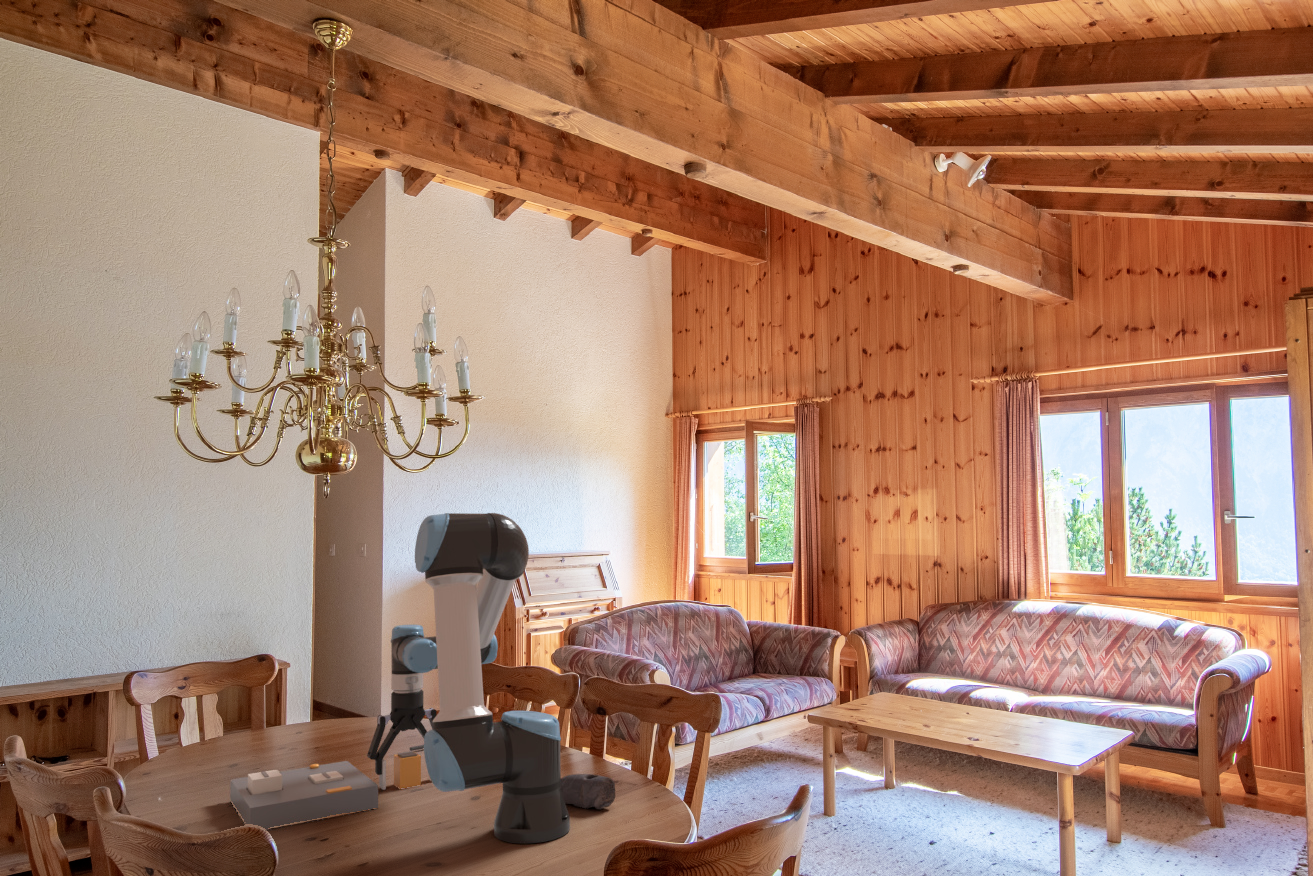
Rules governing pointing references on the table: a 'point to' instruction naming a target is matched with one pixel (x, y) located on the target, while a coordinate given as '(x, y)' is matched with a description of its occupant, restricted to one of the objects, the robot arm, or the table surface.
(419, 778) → the cap
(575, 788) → the perforated stone tool
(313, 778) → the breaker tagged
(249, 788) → the breaker untagged
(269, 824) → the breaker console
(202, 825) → the table surface
